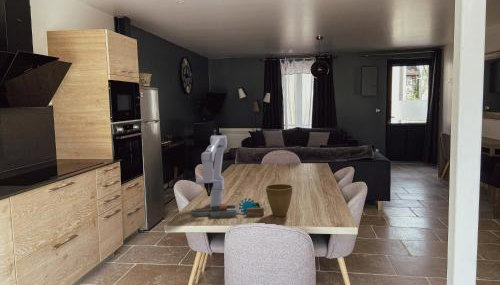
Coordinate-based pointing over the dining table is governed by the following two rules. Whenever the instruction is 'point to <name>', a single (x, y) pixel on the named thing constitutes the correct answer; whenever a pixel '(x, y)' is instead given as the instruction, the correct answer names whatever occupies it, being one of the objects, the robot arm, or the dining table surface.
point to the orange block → (224, 208)
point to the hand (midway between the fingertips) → (209, 196)
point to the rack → (256, 210)
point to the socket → (215, 214)
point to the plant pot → (279, 198)
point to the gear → (247, 205)
